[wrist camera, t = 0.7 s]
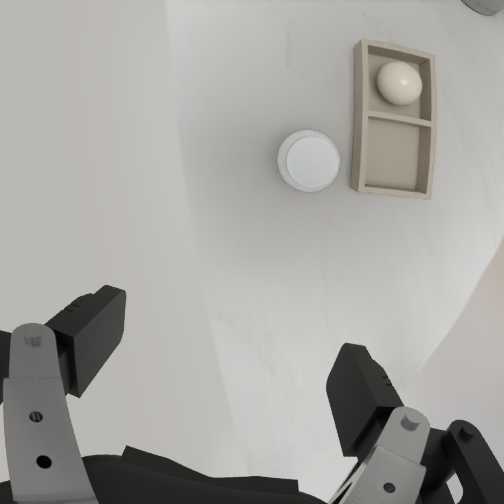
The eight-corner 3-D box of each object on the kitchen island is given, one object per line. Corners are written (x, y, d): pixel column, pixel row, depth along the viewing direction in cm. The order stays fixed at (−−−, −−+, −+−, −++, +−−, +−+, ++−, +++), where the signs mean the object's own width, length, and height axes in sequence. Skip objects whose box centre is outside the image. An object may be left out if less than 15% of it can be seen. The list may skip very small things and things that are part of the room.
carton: (353, 48, 26) (361, 38, 23) (421, 62, 26) (434, 55, 22) (350, 187, 32) (358, 192, 28) (417, 194, 31) (430, 200, 28)
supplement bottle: (266, 152, 31) (261, 155, 22) (307, 122, 30) (318, 113, 21) (297, 192, 32) (305, 211, 23) (338, 163, 31) (361, 171, 22)
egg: (370, 63, 26) (384, 51, 22) (410, 71, 26) (429, 61, 21) (370, 104, 28) (385, 98, 23) (411, 111, 27) (430, 107, 23)
